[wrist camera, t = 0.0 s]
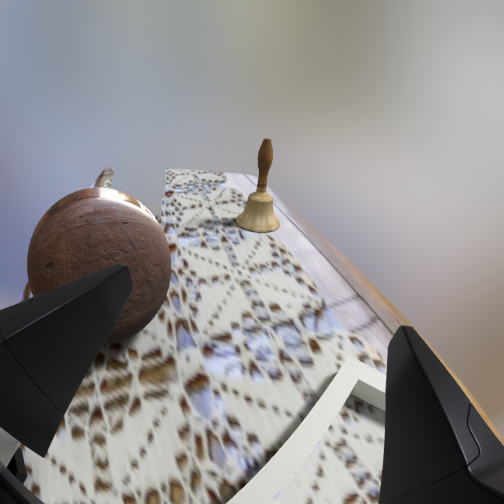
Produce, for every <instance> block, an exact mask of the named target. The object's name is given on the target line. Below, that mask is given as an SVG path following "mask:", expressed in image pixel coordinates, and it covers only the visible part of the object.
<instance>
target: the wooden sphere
mask: <svg viewBox="0 0 504 504" xmlns="http://www.w3.org/2000/svg"><path fill="white" fill-rule="evenodd" d="M115 264H123V265H127V266H128V267H129V268H130V271H131V277H132V282H133V290H132V293H131V295H130V296H129V298H128V300H127V302H126V304H125V306H124V308H123V310H122V312H121V314H120V316H119V318H118V320H117V322H116V324H115V326H114V328H113V329H112V331H111V333H110V334H109V336H108V338H107V339H106V341H105V342H104V344H108V343H114V342H118V341H121V340H124V339H127V338H129V337H131V336H133V335H134V334H136V333H138V332H139V331H140V330H142V329H143V328H144V327H145V326H146V325H147V324H149V323H150V321H151V320H152V319H153V318H154V317H155V315H156V314H157V312H158V311H159V309H160V308H161V306H162V304H163V302H164V300H165V297H166V294H167V291H168V288H169V283H170V277H171V257H170V251H169V246H168V243H167V240H166V237H165V234H164V232H163V230H162V228H161V226H160V224H159V223H158V221H157V220H156V218H155V217H154V216H153V214H152V213H151V212H150V211H149V210H148V209H147V208H146V207H145V206H144V205H143V204H142V203H140V202H139V201H137V200H136V199H135V198H133V197H131V196H129V195H127V194H125V193H123V192H120V191H117V190H113V189H108V188H89V189H83V190H80V191H76V192H74V193H71V194H69V195H67V196H65V197H64V198H62V199H60V200H59V201H58V202H56V203H55V204H54V205H53V206H52V207H51V208H50V209H49V210H48V211H47V212H46V213H45V214H44V216H43V217H42V218H41V220H40V221H39V223H38V225H37V226H36V228H35V231H34V233H33V235H32V238H31V241H30V245H29V249H28V257H27V273H28V280H29V285H30V289H31V292H32V295H33V297H35V296H37V295H39V294H42V293H44V292H47V291H49V290H52V289H54V288H56V287H59V286H61V285H64V284H66V283H69V282H71V281H74V280H76V279H79V278H82V277H84V276H87V275H89V274H92V273H94V272H97V271H100V270H102V269H105V268H107V267H110V266H113V265H115Z"/></svg>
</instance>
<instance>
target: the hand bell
mask: <svg viewBox="0 0 504 504" xmlns="http://www.w3.org/2000/svg"><path fill="white" fill-rule="evenodd" d="M272 159H273V148H272V144H271V140H270V139H264V140H263V143H262V145H261V147H260V150H259V153H258V168H259V178H258V184H257V190H256V192H254V193H251V194H250V195H249V196H248V201H247V205H246V207H245V210H244V211H243V212H242V214H240V215H239V216H238V217H237V219H236V223H237V224H238V225H239V226H240V227H242V228H244V229H246V230H249V231H254V232H270V231H274V230H276V229H278V228H279V226H280V222H279V220H278V219H277V218H276V216H275V214H274V211H273V198H272V196H271V195H269V194H267V193H266V187H267V185H266V184H267V175H268V171H269V169H270V167H271V164H272Z"/></svg>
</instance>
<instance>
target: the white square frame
mask: <svg viewBox="0 0 504 504" xmlns="http://www.w3.org/2000/svg"><path fill="white" fill-rule="evenodd" d="M385 387H386V375H385V374H383V373H381V372H379V371H377V370H375V369H373V368H371V367H370V366H368V365H366V364H364V363H362V362H360V361H358V360H356V359H354V358H352V357H351V356H348V357H347V359H346V361H345V362H344V364H343V365H342V367H341V368H340V370H339V371H338V373H337V374H336V376H335V377H334V379H333V380H332V382H331V383H330V385H329V386H328V388H327V389H326V391H325V392H324V393H323V395H322V396H321V398H320V399H319V400H318V402H317V403H316V404H315V406H314V407H313V409H312V410H311V411H310V412H309V414H308V415H307V416H306V418H305V419H304V420H303V422H302V423H301V424H300V425H299V427H298V428H297V429H296V430H295V432H294V433H293V434H292V435H291V436H290V438H289V439H288V440H287V441H286V442H285V444H284V445H283V446H282V447H281V448H280V449H279V451H278V452H277V453H276V454H275V455H274V456H273V457H272V458H271V459H270V461H269V462H268V463H267V464H266V465H265V466H264V467H263V468H262V469H261V470H260V471H259V472H258V473H257V474H256V475H255V476H254V477H253V478H252V479H251V480H250V481H249V482H248V483H247V484H246V485H245V486H244V487H243V488H242V489H241V490H240V491H239V492H238V493H237V494H236V495H235V496H234V497H233V498H232V499H231V500H229V501H228V502H227V503H226V504H283V503H281V502H279V501H277V500H276V499H274V498H273V496H274V495H275V494H276V493H277V492H278V491H279V490H280V489H281V488H282V487H283V485H284V484H285V483H286V482H287V481H288V480H289V478H290V477H291V476H292V475H293V474H294V473H295V471H296V470H297V469H298V468H299V466H300V465H301V464H302V463H303V461H304V460H305V459H306V458H307V456H308V455H309V454H310V452H311V451H312V450H313V448H314V447H315V446H316V444H317V443H318V441H319V440H320V439H321V437H322V436H323V434H324V433H325V432H326V430H327V429H328V427H329V426H330V424H331V423H332V421H333V420H334V418H335V417H336V415H337V414H338V412H339V411H340V409H341V407H342V406H343V404H344V403H345V401H346V399H347V398H348V396H349V394H352V395H354V396H356V397H358V398H360V399H362V400H364V401H365V402H367V403H369V404H371V405H373V406H375V407H377V408H379V409H381V410H383V411H385Z"/></svg>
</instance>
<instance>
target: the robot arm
mask: <svg viewBox="0 0 504 504" xmlns="http://www.w3.org/2000/svg"><path fill="white" fill-rule="evenodd" d="M132 290H133V282H132V277H131V271H130V268H129V267H128V266H127V265H123V264H115V265H113V266H110V267H107V268H105V269H102V270H100V271H97V272H94V273H92V274H89V275H87V276H84V277H82V278H79V279H76V280H74V281H71V282H69V283H66V284H64V285H61V286H59V287H56V288H54V289H52V290H49V291H47V292H44V293H42V294H39V295H37V296H35V297H32V298H30V299H27V300H25V301H23V302H20V303H18V304H15V305H13V306H10V307H7V308H5V309H2V310H0V504H44V503H43V502H42V501H41V500H40V499H38V498H37V497H36V496H35V495H34V494H33V493H32V492H30V491H29V490H28V489H27V488H26V487H25V486H24V485H23V483H24V481H25V479H26V478H27V473H26V469H25V464H24V459H23V454H22V449H21V448H20V447H19V445H20V444H21V443H22V444H23V445H25V446H26V447H28V448H29V449H31V450H32V451H34V452H35V453H37V454H38V455H40V456H41V457H43V458H44V457H45V455H46V453H47V451H48V449H49V447H50V444H51V442H52V440H53V438H54V436H55V434H56V431H57V429H58V427H59V425H60V423H61V421H62V419H63V417H64V415H65V413H66V411H67V409H68V407H69V405H70V403H71V401H72V399H73V397H74V395H75V393H76V392H77V390H78V388H79V386H80V384H81V382H82V381H83V379H84V377H85V375H86V373H87V372H88V370H89V368H90V366H91V365H92V363H93V361H94V359H95V358H96V356H97V354H98V353H99V351H100V349H101V347H102V346H103V344H104V342H105V341H106V339H107V338H108V336H109V334H110V333H111V331H112V329H113V328H114V326H115V324H116V322H117V320H118V318H119V316H120V314H121V312H122V310H123V308H124V306H125V304H126V302H127V300H128V298H129V296H130V295H131V293H132ZM378 503H379V504H504V446H503V445H502V444H501V442H500V441H499V440H498V438H497V437H496V436H495V435H494V433H493V432H492V431H491V429H490V428H489V427H488V425H487V424H486V423H485V421H484V420H483V419H482V417H481V416H480V414H479V413H478V412H477V410H476V409H475V407H474V406H473V404H472V403H470V400H469V399H468V397H467V396H466V395H465V393H464V392H463V390H462V389H461V388H460V386H459V385H458V384H457V382H456V381H455V380H454V378H453V377H452V376H451V374H450V373H449V372H448V370H447V369H446V368H445V367H444V365H443V364H442V363H441V361H440V360H439V359H438V358H437V356H436V355H435V354H434V353H433V351H432V350H431V349H430V348H429V346H428V345H427V344H426V343H425V341H424V340H423V339H422V338H421V337H420V335H419V334H418V333H417V332H416V331H415V329H414V328H413V327H411V326H405V325H401V326H400V327H399V328H398V329H397V331H396V333H395V334H394V336H393V338H392V339H391V341H390V343H389V346H388V357H387V374H386V387H385V440H384V457H383V468H382V478H381V487H380V494H379V501H378Z"/></svg>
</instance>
